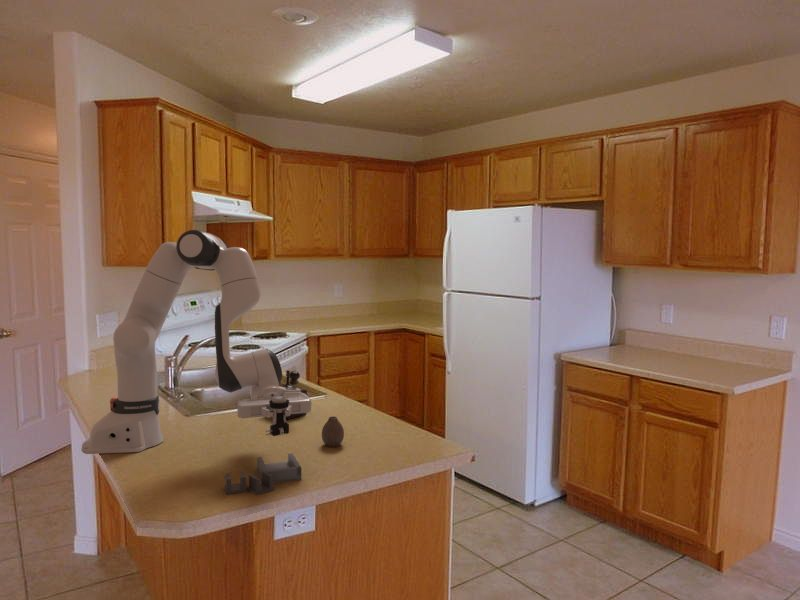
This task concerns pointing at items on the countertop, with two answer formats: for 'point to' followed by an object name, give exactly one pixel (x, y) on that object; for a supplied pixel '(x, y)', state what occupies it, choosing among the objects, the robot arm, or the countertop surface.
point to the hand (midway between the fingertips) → (279, 414)
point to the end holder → (281, 469)
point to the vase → (332, 432)
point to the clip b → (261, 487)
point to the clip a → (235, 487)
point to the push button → (279, 416)
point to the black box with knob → (294, 380)
